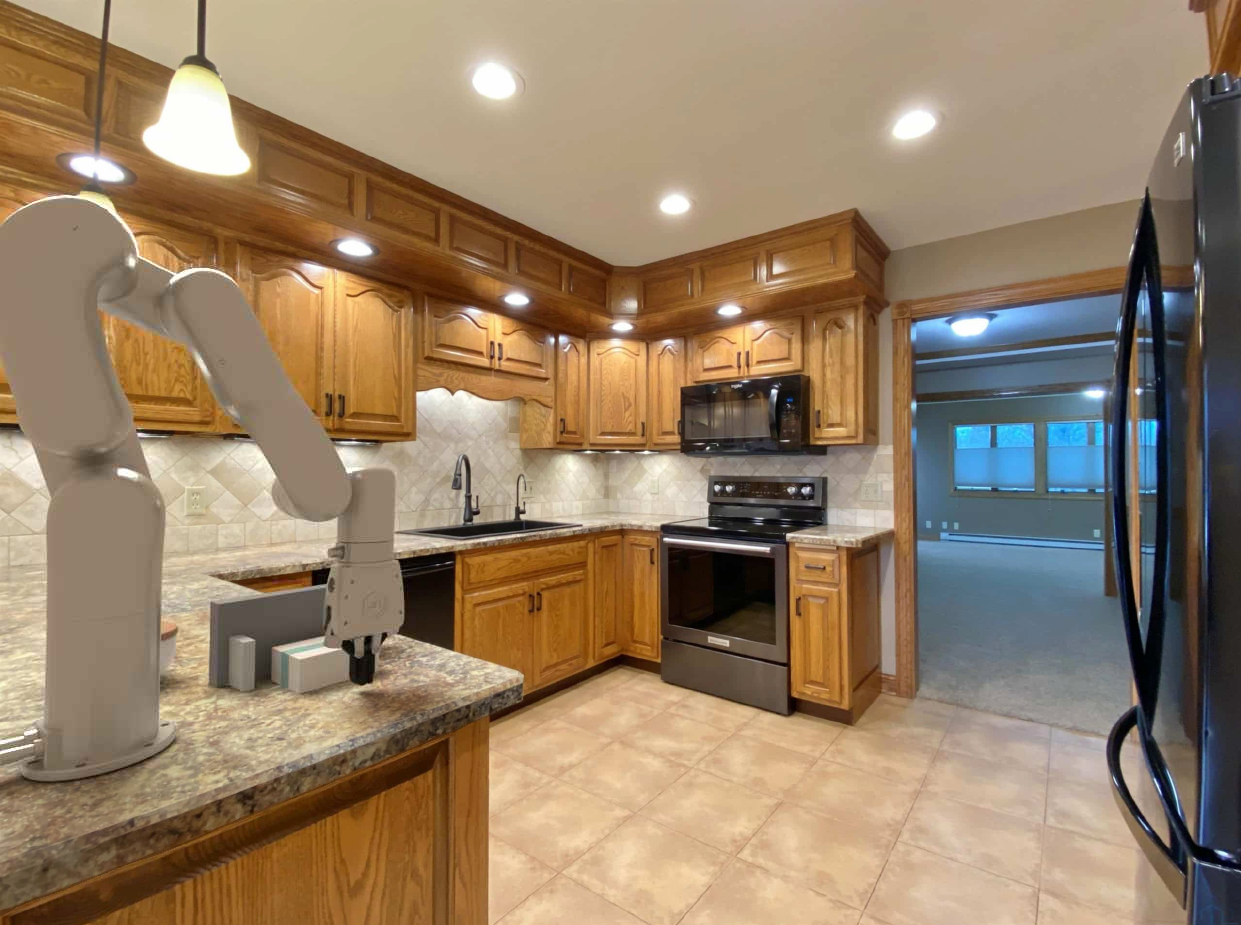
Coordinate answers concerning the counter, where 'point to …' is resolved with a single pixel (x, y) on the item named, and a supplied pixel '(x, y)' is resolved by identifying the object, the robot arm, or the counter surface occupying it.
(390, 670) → the counter surface
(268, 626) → the display stand
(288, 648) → the carton
